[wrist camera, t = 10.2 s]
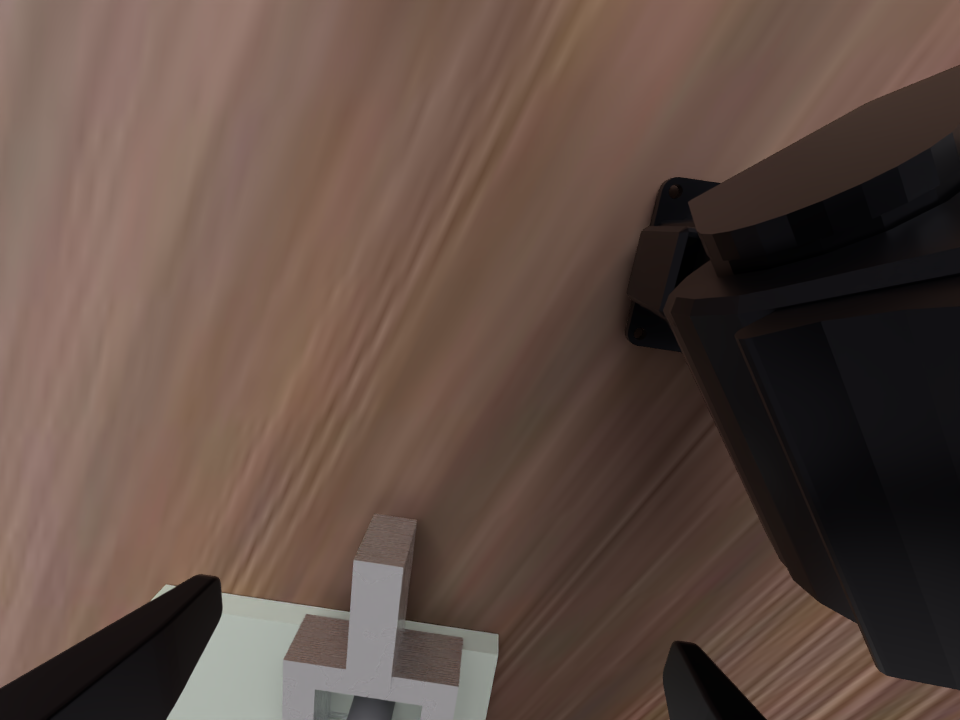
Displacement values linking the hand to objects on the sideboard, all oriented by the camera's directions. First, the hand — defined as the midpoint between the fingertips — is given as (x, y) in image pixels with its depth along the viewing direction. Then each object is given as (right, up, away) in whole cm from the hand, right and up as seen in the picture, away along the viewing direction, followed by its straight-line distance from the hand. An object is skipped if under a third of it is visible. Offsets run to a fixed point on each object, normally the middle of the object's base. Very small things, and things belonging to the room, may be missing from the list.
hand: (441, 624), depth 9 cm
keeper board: (-8, -13, +17) cm, 23 cm away
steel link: (-4, -9, +14) cm, 17 cm away
